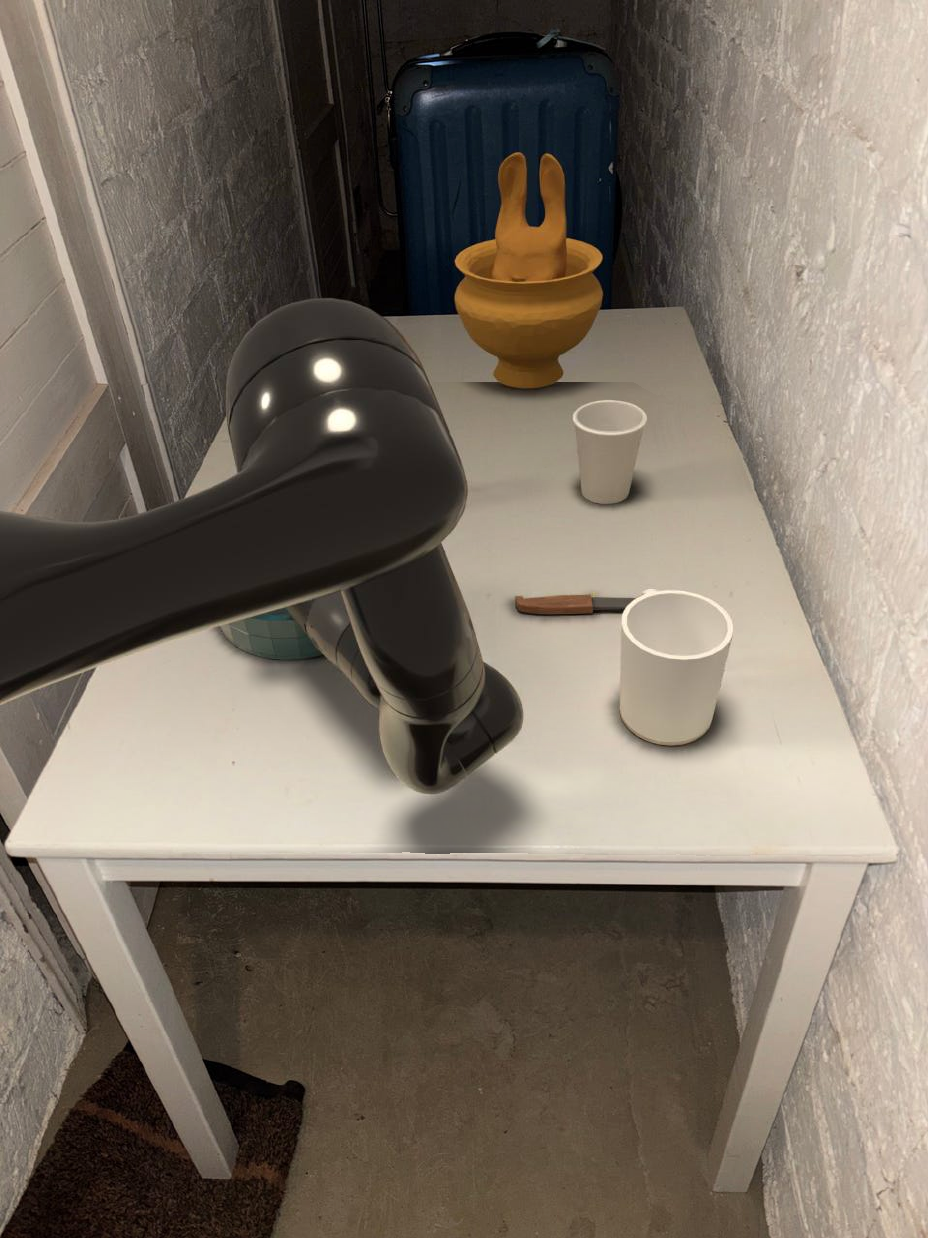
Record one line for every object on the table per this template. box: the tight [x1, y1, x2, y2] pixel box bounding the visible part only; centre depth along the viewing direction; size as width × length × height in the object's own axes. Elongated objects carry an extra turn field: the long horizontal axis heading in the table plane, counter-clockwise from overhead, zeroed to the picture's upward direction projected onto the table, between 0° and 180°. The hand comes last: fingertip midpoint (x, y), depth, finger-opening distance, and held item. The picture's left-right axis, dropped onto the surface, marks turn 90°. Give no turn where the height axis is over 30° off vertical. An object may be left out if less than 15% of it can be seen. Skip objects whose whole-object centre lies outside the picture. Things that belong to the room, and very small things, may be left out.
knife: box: [514, 590, 637, 615], centre depth 92 cm, size 17×1×3 cm
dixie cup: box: [572, 399, 648, 505], centre depth 107 cm, size 8×8×10 cm
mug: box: [619, 588, 734, 747], centre depth 78 cm, size 11×9×10 cm
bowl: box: [220, 608, 324, 661], centre depth 94 cm, size 18×18×5 cm
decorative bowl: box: [454, 152, 604, 389], centre depth 128 cm, size 21×21×30 cm
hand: (268, 529), depth 89 cm, fingers closed on lollipop, 3 cm apart
